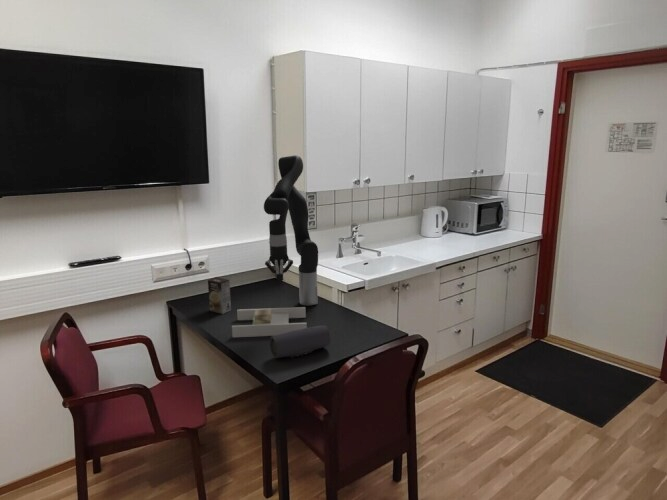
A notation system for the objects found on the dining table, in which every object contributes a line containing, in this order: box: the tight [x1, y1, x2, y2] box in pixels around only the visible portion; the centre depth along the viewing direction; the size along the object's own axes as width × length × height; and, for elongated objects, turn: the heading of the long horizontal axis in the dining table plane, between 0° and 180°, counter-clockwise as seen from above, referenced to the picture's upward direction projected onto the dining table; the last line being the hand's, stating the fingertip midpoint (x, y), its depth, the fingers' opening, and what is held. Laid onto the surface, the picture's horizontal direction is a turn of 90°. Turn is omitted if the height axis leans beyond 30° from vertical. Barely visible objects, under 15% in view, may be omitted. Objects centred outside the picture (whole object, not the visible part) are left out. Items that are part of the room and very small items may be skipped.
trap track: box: [231, 306, 308, 338], centre depth 211 cm, size 32×20×5 cm, turn 95°
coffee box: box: [207, 276, 232, 315], centre depth 230 cm, size 9×6×16 cm
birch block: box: [254, 310, 272, 323], centre depth 210 cm, size 7×6×4 cm
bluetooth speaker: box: [269, 324, 331, 359], centre depth 184 cm, size 23×9×10 cm, turn 118°
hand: (280, 281), depth 208 cm, fingers closed
